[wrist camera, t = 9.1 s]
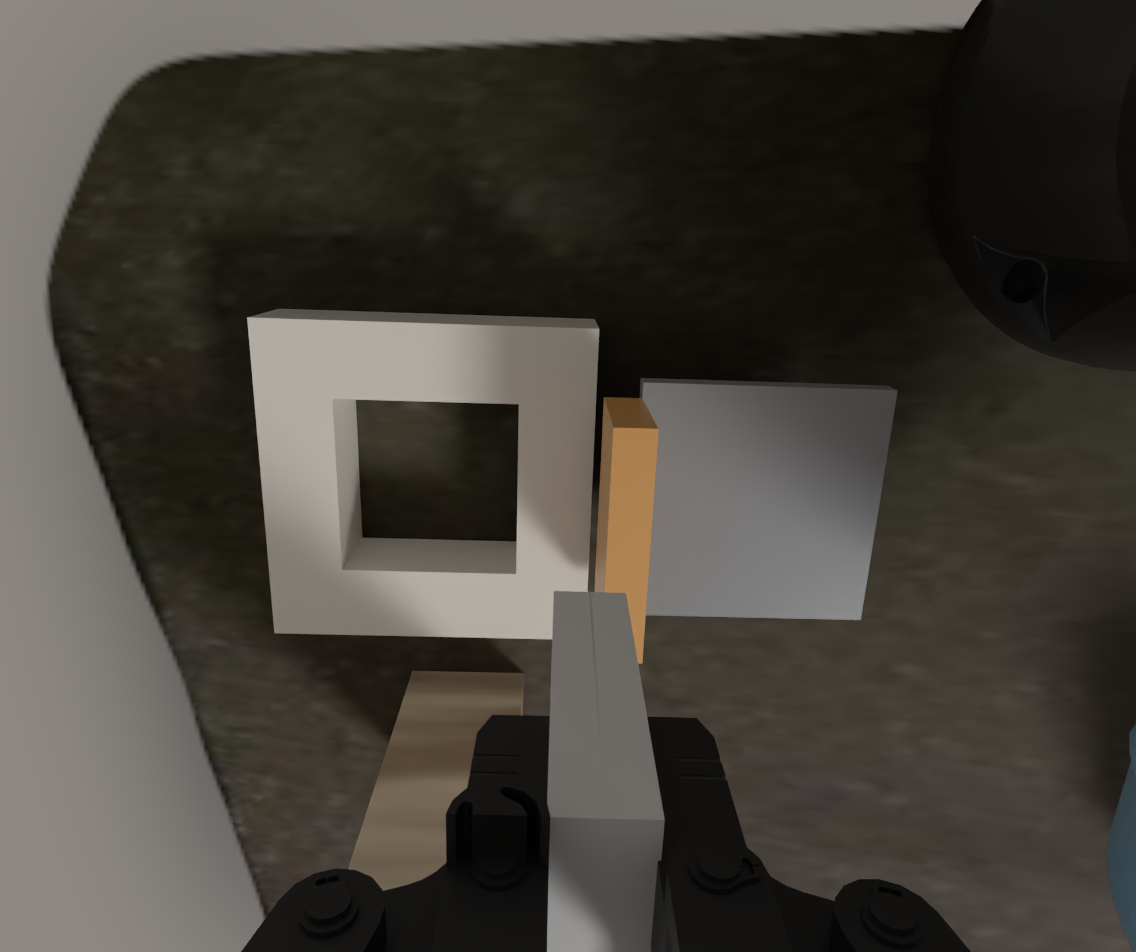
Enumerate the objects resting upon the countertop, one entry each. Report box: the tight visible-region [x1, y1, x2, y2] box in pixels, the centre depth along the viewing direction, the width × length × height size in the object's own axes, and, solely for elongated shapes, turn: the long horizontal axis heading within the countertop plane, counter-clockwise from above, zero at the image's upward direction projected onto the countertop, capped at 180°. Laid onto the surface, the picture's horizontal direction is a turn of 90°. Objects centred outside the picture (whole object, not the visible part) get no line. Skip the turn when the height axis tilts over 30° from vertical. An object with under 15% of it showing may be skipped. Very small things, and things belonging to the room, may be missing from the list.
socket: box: [247, 309, 599, 639], centre depth 27 cm, size 11×11×3 cm
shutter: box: [595, 378, 898, 664], centre depth 24 cm, size 8×9×5 cm
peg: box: [348, 671, 524, 891], centre depth 26 cm, size 4×4×13 cm
